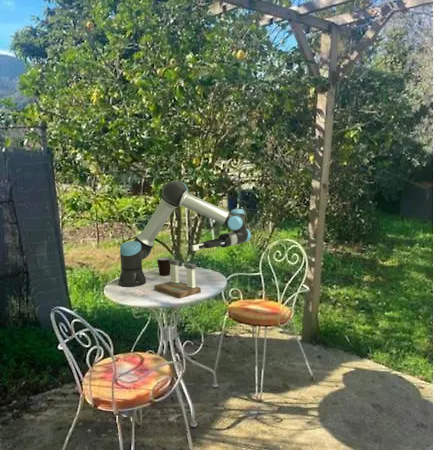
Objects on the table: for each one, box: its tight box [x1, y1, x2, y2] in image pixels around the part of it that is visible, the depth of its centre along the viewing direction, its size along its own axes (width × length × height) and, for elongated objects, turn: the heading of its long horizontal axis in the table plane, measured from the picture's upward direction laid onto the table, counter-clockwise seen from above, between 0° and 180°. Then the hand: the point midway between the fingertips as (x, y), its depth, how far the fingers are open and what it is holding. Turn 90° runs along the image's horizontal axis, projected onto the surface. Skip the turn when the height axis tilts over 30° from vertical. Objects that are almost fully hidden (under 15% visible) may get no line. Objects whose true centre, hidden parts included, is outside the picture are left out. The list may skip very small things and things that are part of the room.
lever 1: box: [169, 258, 181, 283], centre depth 241 cm, size 3×6×12 cm, turn 43°
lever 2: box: [184, 262, 197, 288], centre depth 231 cm, size 3×6×12 cm, turn 43°
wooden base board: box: [153, 281, 202, 299], centre depth 234 cm, size 14×22×3 cm, turn 43°
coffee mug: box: [156, 256, 172, 277], centre depth 271 cm, size 12×9×10 cm
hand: (193, 248), depth 232 cm, fingers closed
